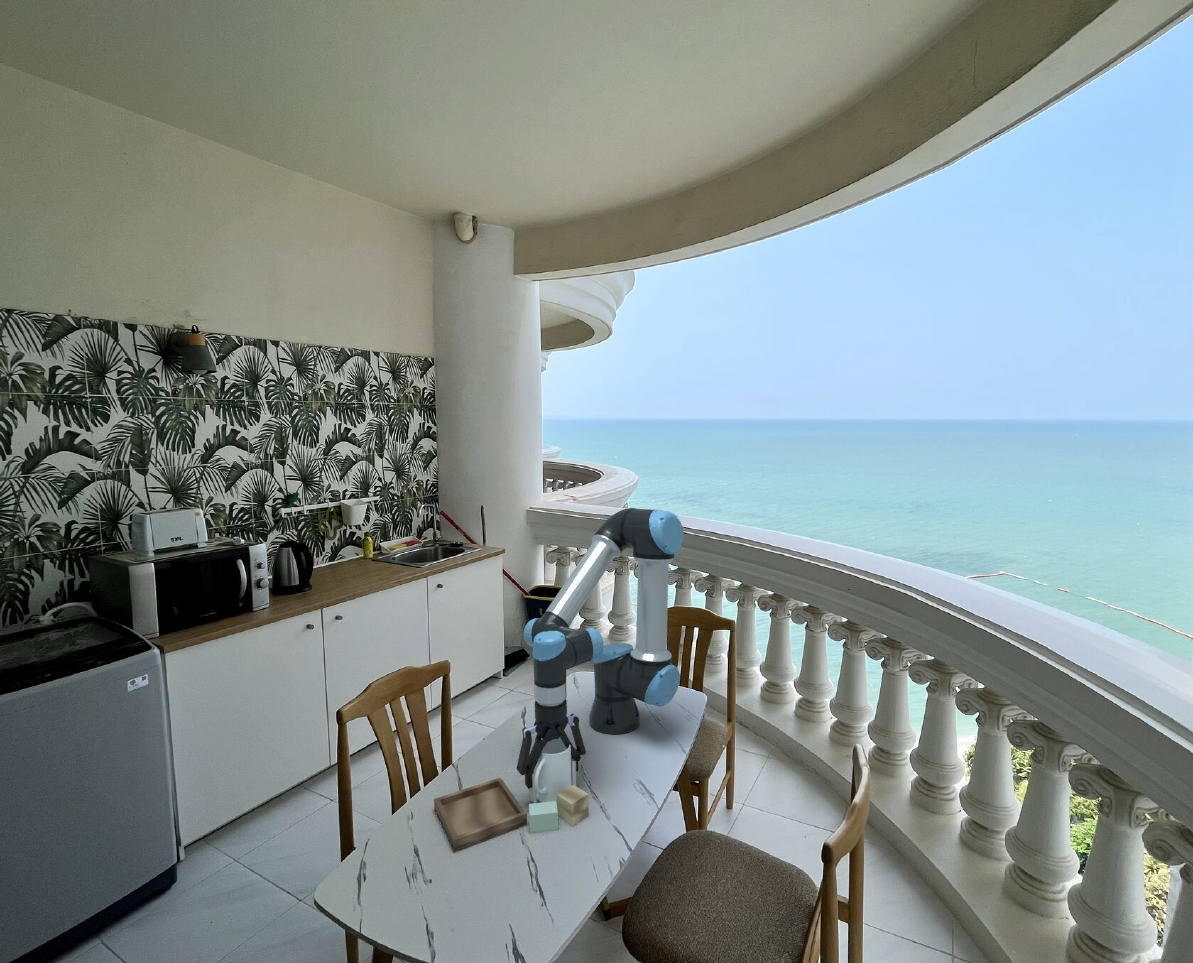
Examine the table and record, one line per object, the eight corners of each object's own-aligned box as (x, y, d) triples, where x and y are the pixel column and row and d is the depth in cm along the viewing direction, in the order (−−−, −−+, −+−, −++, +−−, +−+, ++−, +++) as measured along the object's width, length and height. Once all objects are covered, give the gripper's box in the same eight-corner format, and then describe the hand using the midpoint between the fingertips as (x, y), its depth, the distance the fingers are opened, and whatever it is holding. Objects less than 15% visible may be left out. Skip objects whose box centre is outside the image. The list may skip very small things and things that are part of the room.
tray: (500, 787, 135) (500, 777, 135) (527, 824, 121) (526, 813, 121) (434, 809, 127) (434, 799, 127) (454, 852, 113) (454, 840, 113)
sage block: (556, 818, 124) (556, 800, 123) (558, 830, 120) (557, 812, 120) (529, 821, 123) (528, 803, 123) (530, 833, 119) (529, 815, 119)
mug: (548, 818, 123) (547, 765, 123) (519, 805, 128) (518, 754, 128) (579, 791, 133) (578, 742, 133) (551, 779, 138) (550, 732, 137)
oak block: (573, 805, 128) (572, 784, 128) (588, 815, 124) (588, 793, 124) (557, 816, 124) (556, 794, 124) (572, 826, 121) (571, 804, 121)
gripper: (584, 683, 139) (586, 770, 140) (499, 705, 128) (502, 799, 129) (599, 694, 132) (601, 785, 134) (512, 718, 121) (514, 817, 122)
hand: (552, 792), depth 131 cm, fingers closed on mug, 10 cm apart
